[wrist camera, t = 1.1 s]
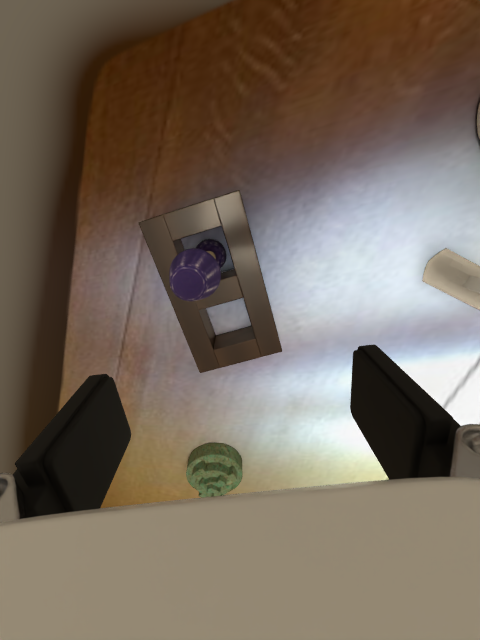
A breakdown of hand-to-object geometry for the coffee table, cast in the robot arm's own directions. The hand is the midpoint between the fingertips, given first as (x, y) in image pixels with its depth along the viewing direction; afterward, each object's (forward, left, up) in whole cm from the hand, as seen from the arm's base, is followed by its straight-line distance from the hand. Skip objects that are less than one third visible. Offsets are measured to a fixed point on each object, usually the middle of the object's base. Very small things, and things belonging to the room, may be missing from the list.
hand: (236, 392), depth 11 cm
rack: (+4, -1, -29) cm, 29 cm away
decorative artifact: (+37, +9, -29) cm, 48 cm away
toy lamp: (0, -4, -29) cm, 29 cm away
